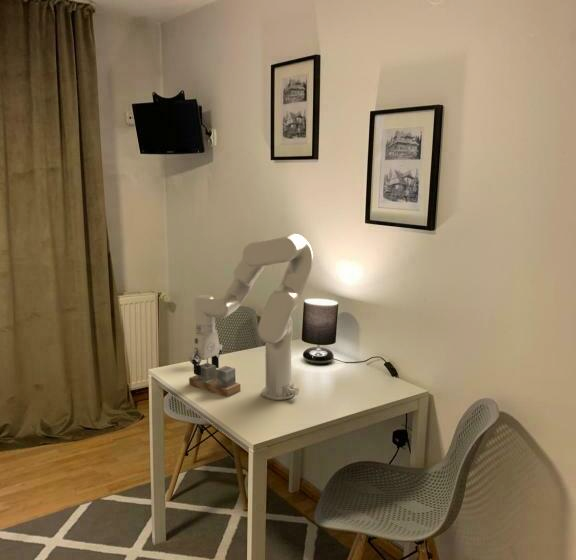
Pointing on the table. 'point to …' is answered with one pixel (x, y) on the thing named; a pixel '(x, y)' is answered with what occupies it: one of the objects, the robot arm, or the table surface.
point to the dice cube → (207, 372)
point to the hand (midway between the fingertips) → (206, 371)
